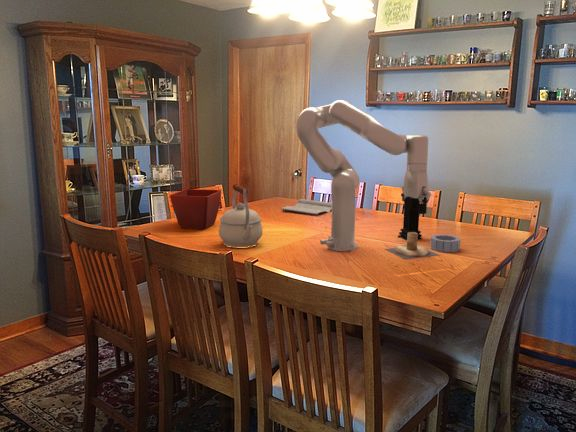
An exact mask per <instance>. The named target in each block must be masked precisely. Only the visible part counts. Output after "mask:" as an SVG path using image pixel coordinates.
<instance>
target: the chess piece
mask: <svg viewBox="0 0 576 432" xmlns="http://www.w3.org/2000/svg"><path fill="white" fill-rule="evenodd" d="M400 196H401V200H402V202H404V200H405V199H404V198H403V197H404V196H403V192H402V193H401V194H400ZM411 199H412V208H411V209H407V210H405V209H404V205H403V206H402V209H403V221H402V222H403V224H402V225H403V226H402V228H400V230H399V232H398V235H397V238H399V239H400V238H401V239H402V240H405V241H407V233H408V232H416V233H418V240H419V241H420V240H423V238H422V237H423V235H422V234H421V233H422V231H420V230H419V224H420V214H419V204H420V201H419V199H418V198H412V197H411ZM422 200H423V198H422Z"/></svg>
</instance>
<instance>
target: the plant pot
mask: <svg viewBox="0 0 576 432" xmlns="http://www.w3.org/2000/svg"><path fill="white" fill-rule="evenodd" d="M221 196H222V190H221V189H199V188H197V189H195V188H185V189H182V190H180V191H176V192H174V193H172V194H171V193H170V195H169V198H170V202H171V205H172V210H173V213H174V215H175V219H176V220H177V222H178V224H179V226H180V228H181V229H186V228H192V230H206V229H208V228H209V227H212V226H213V225H215V224H216V221H217V216H218V213H219V209H220V203H221V199H222V198H221Z"/></svg>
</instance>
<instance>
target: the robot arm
mask: <svg viewBox="0 0 576 432" xmlns="http://www.w3.org/2000/svg"><path fill="white" fill-rule="evenodd" d="M338 124H339V125H341V126H343V127H344V128H346V129H348V130H350V131H351V132H353V133H355V134H357V136H360V137H361V138H363V139H365V140H366V141H368V142H369V143H371V144H372V145H374V146H375V147H376V148H379V149H380V150H382V151H384V152H386V153H388V154H389V155H391V156H399V155H402V154H405V153H407V154H406V170H405V173H404V179H403V186H402V187H401V190H402V193H403V196H404V197H403V198H404V199H405V200H404V201H403V206H404V208H403V210H404V209H405V210H407V209H411V208H412V199H411V197H412V198H418V199H419V201H420V204H419V215H425V214H427V209H428V208H427V206H428V204H429V201H430V198H431V195H432V193H431V191H429V190H428V188H429V186H428V185H429V182H428V171H427V170H428V154H429V153H428V152H429V137H428V136H427V135H424V134H412V135H407V134H401V133H398V134H397V133H395V132H394V131H392V130H390V129H388V128H387V127H385V126H384V125H382V124H381V123H380V122H378V121H377V120H376V118H374V117H373V116H371V115H370V114H368V113H367V112H364V111H363V110H361V109H359V108H357V107H356V106H354V105H352V104H351V102H349V101H348V100H343V99H337V100H336V101H333V102H332V103H330V104H327V105H322V106H317V107H314V106H313V107H307V108H305V109H303V110H302V111H301V112H300V113H299V116H298V117H297V120H296V124H295V128H296V129H295V130H296V134H297V138H298V140H299V141H300V143H301V144H302V146H303V147H304V148H305V149H306V151H307V152H308V154H309V155H310V157H311V158H312V160H313V161H314V162H315V164H316V166H318V168H319V169H320V170H321V172H323V173H324V174H329V175H330V176H331V177H332V180H331V184H330V185H331V187H330V189H331V190H330V191H331V203H332V209H331V224H330V225H331V233H330V236H328V238H327V239H320V241H319V244H320V245H326V248H327V249H329V250H331V251H335V252H352V251H355V250H357V249H358V248H359V245H358V244H357V243H356V242H355V232H356V229H355V228H356V226H355V225H356V189H357V188H358V187H359V185H360V176H359V174H358V173H357V171H356V170H355V168H354V167H353V166H352V164H351V163H350V162H349V160H348V159H347V157H346V156H345V155H344V154H343V153H342V152H341V151H340V150H339V149H337V148H333V147H331V145H330V144H329V143H328V142H327V140H326V139H325V137H324V136H323V135H322V134H321V133H320V131H319V129H322V128H325V127H329V126H334V125H338ZM422 198H423V200H422Z"/></svg>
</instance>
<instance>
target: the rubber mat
mask: <svg viewBox="0 0 576 432" xmlns="http://www.w3.org/2000/svg"><path fill="white" fill-rule="evenodd" d="M384 251H386V252H389V253H391V254H393V255H395V256H397V257H399V258H401V259H404V260H413V259H420V258H421V259H423V258H429V257H430V258H431V257H438V256H439V257H440V254H438V253H436V252H434V251H432V250H429V254H428V255H426V256H422V257H410V256H403V255H400V254H397V253H396V252H395V247H393V248H384Z"/></svg>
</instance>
